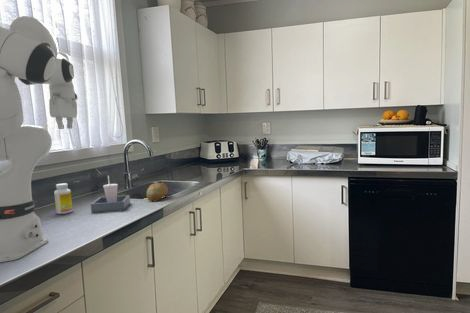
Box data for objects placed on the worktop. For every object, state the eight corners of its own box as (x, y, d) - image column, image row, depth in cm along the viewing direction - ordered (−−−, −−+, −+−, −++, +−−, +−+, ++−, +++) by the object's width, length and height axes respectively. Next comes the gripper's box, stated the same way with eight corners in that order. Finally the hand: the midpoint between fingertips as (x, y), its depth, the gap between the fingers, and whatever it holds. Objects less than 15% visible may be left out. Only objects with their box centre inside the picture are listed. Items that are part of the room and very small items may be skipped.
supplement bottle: (76, 210, 158) (73, 182, 156) (65, 214, 151) (62, 185, 150) (63, 210, 160) (61, 182, 158) (52, 214, 153) (49, 185, 152)
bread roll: (172, 195, 182) (171, 180, 182) (162, 202, 168) (161, 185, 167) (154, 195, 184) (153, 180, 183) (143, 202, 169) (142, 186, 168)
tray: (124, 210, 154) (123, 201, 153) (91, 213, 152) (90, 204, 152) (130, 203, 167) (129, 195, 167) (100, 205, 166) (99, 197, 165)
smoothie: (104, 205, 161) (101, 175, 160) (119, 203, 164) (116, 174, 163) (105, 208, 155) (102, 177, 154) (120, 206, 158) (117, 175, 157)
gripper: (60, 91, 129) (64, 129, 131) (78, 96, 150) (81, 128, 151) (42, 92, 129) (46, 129, 130) (63, 96, 149) (66, 128, 150)
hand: (65, 128), depth 141 cm, fingers open, 8 cm apart
